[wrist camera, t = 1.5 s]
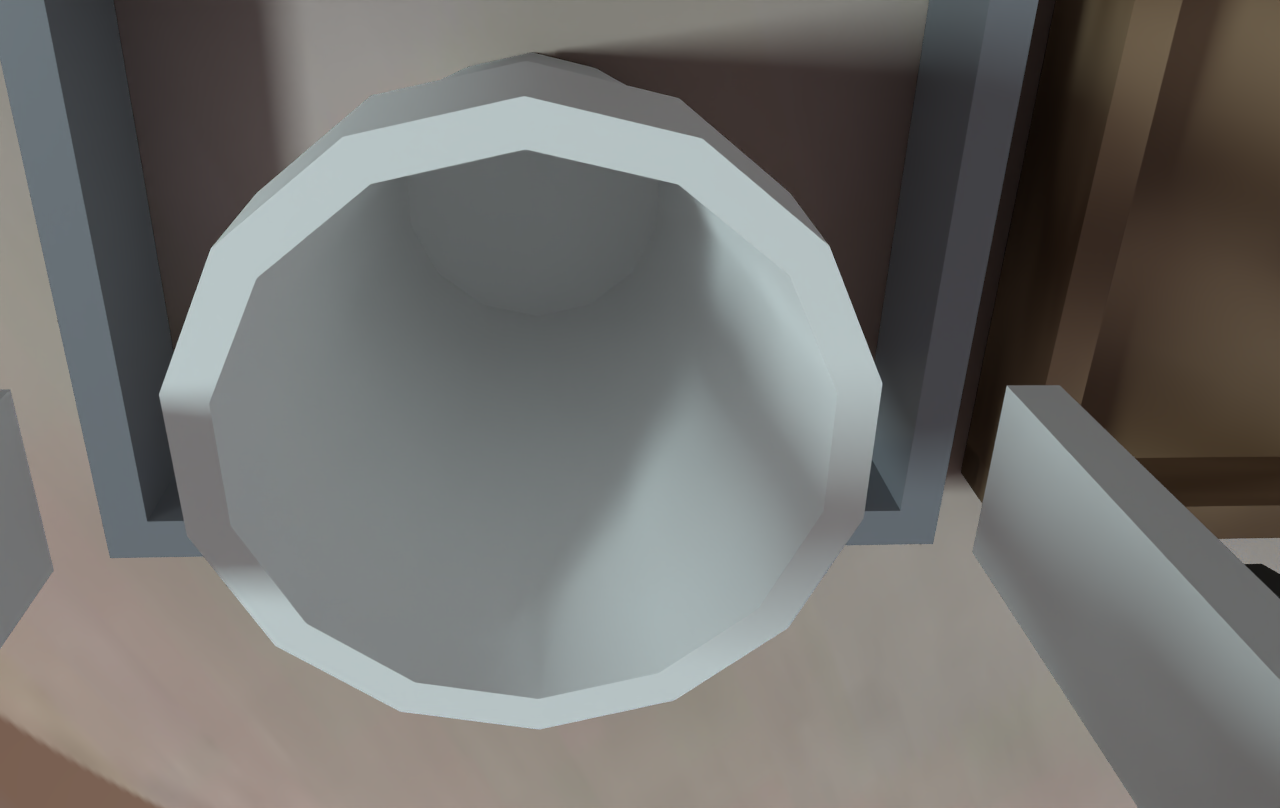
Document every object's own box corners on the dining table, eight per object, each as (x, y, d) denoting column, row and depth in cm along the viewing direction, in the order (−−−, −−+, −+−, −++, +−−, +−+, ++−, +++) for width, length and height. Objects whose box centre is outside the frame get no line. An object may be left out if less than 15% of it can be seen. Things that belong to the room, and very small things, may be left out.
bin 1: (24, -215, 21) (-63, -226, 18) (999, -169, 23) (1071, -172, 20) (156, 481, 29) (110, 557, 25) (892, 473, 30) (932, 543, 27)
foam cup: (782, 277, 27) (960, 585, 16) (459, 422, 29) (406, 809, 17) (627, -97, 23) (716, -48, 12) (255, 90, 24) (0, 304, 13)
